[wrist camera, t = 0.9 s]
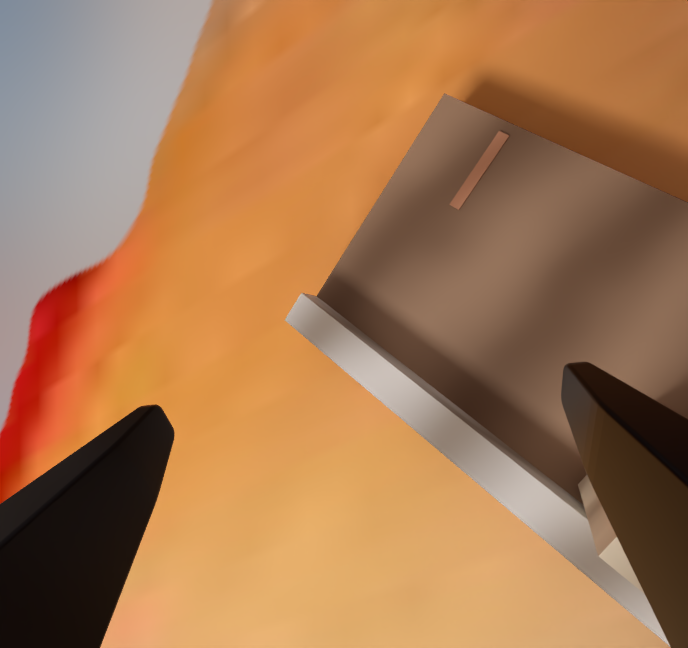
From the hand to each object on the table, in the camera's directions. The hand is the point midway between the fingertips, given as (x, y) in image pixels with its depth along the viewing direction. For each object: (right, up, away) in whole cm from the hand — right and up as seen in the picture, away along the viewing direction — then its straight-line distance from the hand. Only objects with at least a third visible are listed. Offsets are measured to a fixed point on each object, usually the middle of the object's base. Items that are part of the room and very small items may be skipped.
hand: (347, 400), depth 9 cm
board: (+9, +1, +9) cm, 13 cm away
